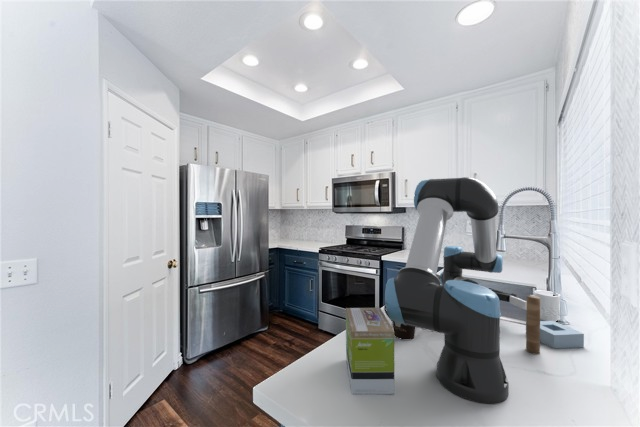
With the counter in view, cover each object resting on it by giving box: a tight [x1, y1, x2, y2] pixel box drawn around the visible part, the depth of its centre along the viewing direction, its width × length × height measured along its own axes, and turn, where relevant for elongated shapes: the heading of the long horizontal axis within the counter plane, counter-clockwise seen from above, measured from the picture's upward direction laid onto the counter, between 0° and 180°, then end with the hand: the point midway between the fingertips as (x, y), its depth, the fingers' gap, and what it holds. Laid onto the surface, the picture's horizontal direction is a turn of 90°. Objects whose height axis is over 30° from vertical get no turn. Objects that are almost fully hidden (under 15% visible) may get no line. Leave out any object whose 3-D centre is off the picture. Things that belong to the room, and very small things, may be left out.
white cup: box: [533, 289, 562, 322], centre depth 105 cm, size 8×8×10 cm
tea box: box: [345, 307, 396, 395], centre depth 68 cm, size 15×10×15 cm
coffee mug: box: [383, 304, 416, 340], centre depth 92 cm, size 12×9×10 cm
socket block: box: [540, 320, 585, 349], centre depth 88 cm, size 10×10×4 cm
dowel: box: [525, 295, 541, 355], centre depth 81 cm, size 3×3×16 cm
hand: (507, 306), depth 90 cm, fingers open, 13 cm apart
